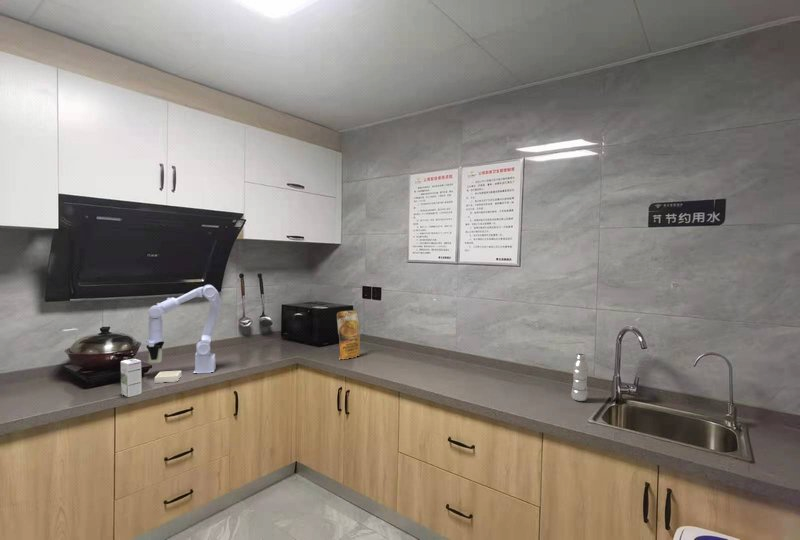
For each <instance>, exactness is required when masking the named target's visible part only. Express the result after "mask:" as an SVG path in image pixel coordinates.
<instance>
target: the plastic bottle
mask: <svg viewBox="0 0 800 540" xmlns="http://www.w3.org/2000/svg"><path fill="white" fill-rule="evenodd" d="M586 359H587V358H586V354H585V353H576V357H575V360H574V362H573V363H572V374H573V376H572V377H573V382H572V388H571V392H570V393H571V398H572V399H573V400H574V401H577V402H585V401H586V400H587V399H588V396H589V395H588V387H587V386H588V385H587V384H588V383H587V381H588V373H589V365H588V362H586Z"/></svg>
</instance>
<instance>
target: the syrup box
mask: <svg viewBox="0 0 800 540" xmlns="http://www.w3.org/2000/svg"><path fill="white" fill-rule="evenodd" d="M142 385H143V384H142V360H140V359H137V358H129V359H125V360H121V361H120V395H121V394H122V396H123V395H124V396H123V397H125V398H130V397H134V396H139V395H142V393H143V391H142Z"/></svg>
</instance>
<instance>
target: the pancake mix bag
mask: <svg viewBox="0 0 800 540" xmlns="http://www.w3.org/2000/svg"><path fill="white" fill-rule="evenodd" d="M336 322H337V323H336V324H337V334H338V338H339V346H338V347H339V357H338V360H339V361H341V360H340V359H347V360H350V359H349V358H352V359H354V358H353V357H356V358H358V357H357V356H359V357H360V355H361V354H360V348H361V347H360V346H361V345H360V342H361V341H360V338H361V337H360V334H361V333H360V332H361V331H360V320H359V313H358V310H357V309H352V310H342V311H337V313H336Z"/></svg>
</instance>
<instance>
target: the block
mask: <svg viewBox="0 0 800 540" xmlns="http://www.w3.org/2000/svg"><path fill="white" fill-rule="evenodd" d="M162 361H163V347H162V348H159V350H158V356H157V359H156V360H151V357H150V353H149V352H148V364H159V363H161V362H162Z"/></svg>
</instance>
